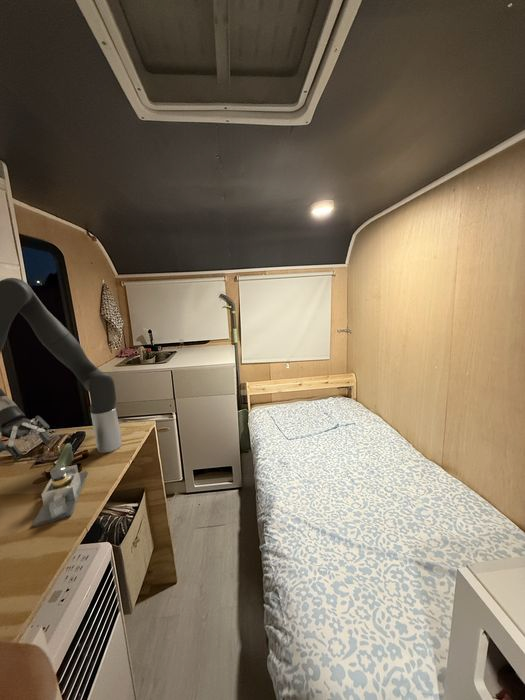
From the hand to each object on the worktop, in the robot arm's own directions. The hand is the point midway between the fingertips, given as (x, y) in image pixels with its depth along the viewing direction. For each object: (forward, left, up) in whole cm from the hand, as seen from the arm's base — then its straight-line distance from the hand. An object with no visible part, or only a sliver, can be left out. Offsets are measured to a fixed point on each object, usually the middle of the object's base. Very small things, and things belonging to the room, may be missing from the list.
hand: (35, 449), depth 90 cm
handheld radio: (-13, -2, -16) cm, 21 cm away
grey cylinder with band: (+3, +9, -14) cm, 17 cm away
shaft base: (+3, +9, -15) cm, 18 cm away
